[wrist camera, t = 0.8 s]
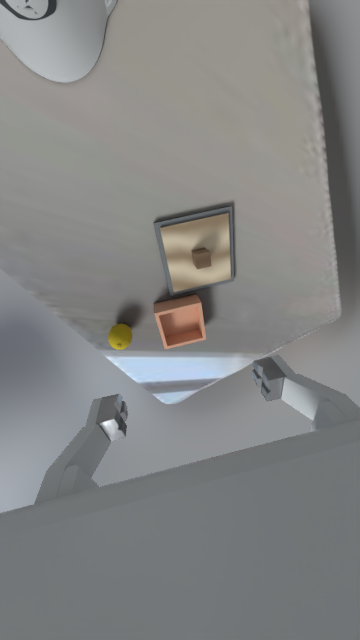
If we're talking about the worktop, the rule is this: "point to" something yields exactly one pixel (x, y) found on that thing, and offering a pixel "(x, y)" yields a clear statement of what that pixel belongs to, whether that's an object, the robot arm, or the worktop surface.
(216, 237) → the lid
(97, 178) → the worktop surface
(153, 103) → the worktop surface
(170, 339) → the salmon open box
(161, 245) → the mat
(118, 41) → the worktop surface
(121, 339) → the lemon
